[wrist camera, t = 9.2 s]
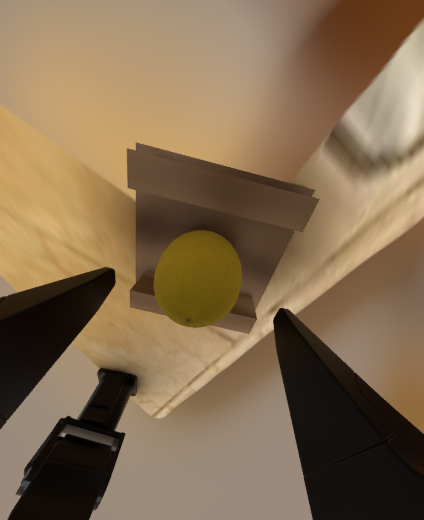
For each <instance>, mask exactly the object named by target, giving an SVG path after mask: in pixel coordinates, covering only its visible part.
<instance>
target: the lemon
mask: <svg viewBox="0 0 424 520" xmlns="http://www.w3.org/2000/svg"><path fill="white" fill-rule="evenodd" d="M241 283H242V269H241V263H240V260H239V257H238V254H237V252H236V250H235V249H234V248H233V246H232V245H231V243H230V242H229V241H227V240H226V239H225V238H224V237H223V236H221V235H219V234H217V233H215V232H211V231H206V230H195V231H191V232H188V233H185V234H183V235H181V236H180V237H178V238H176V239H175V240H173V241H172V242H171V243H170V245H169V246H168V247H167V248H166V249H165V250H164V252H163V253H162V255H161V257H160V260H159V262H158V264H157V267H156V270H155V276H154V292H155V297H156V300H157V302H158V304H159V306H160V308H161V310H162V311H163V312H164V313H165V314H166V315H167V316H168V317H169V318H170V319H172V320H173V321H174V322H176V323H178V324H180V325H183V326H187V327H194V328H197V327H205V326H209V325H212V324H214V323H216V322H218V321H220V320H221V319H223V318H224V317H225V316H226V315H227V314H228V313H229V312H230V311H231V309H232V308H233V306H234V304H235V303H236V301H237V298H238V295H239V291H240V288H241Z"/></svg>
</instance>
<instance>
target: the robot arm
mask: <svg viewBox="0 0 424 520" xmlns="http://www.w3.org/2000/svg"><path fill="white" fill-rule="evenodd" d="M115 282H116V280H115V270H114V269H112V268H108V267H104V268H101V269H97V270H94V271H90V272H87V273H83V274H80V275H77V276H73V277H70V278H66V279H63V280H59V281H56V282H52V283H49V284H46V285H42V286H39V287H35V288H32V289H28V290H25V291H21V292H18V293H15V294H11V295H8V296H7V297H6V296H5V297H1V298H0V429H1V428H2V427H3V425H4V424H5V423H6V420H8V419H9V418H10V417H11V415H12V414H13V413H14V412H15V411H16V409H17V408H18V407H19V406H20V405H21V403H22V402H23V401H24V400H25V398H26V397H27V396H28V395H29V394H30V392H31V391H32V390H33V388H35V386H36V385H37V384H38V382H39V381H40V380H41V379H42V378H43V376H44V375H45V374H46V373H47V372H48V371H49V369H50V368H51V367H52V365H54V363H55V362H56V361H57V360H58V358H59V357H60V356H61V355H62V354H63V352H64V351H65V350H66V349H67V348H68V346H69V345H70V344H71V343H72V341H73V340H74V339H75V338H76V337H77V335H78V334H79V333H80V332H81V331H82V329H83V328H84V327H85V326H86V324H87V323H88V322H89V321H90V320H91V318H92V317H93V316H94V315H95V313H96V312H97V311H98V310H99V308H100V307H101V305H102V304H103V302H104V301H105V299H106V298H107V296H108V295H109V293H110V292H111V290H112V289H113V287H114V285H115ZM273 324H274V333H275V342H276V350H277V355H278V360H279V365H280V369H281V374H282V378H283V383H284V388H285V392H286V397H287V401H288V406H289V411H290V416H291V419H292V425H293V429H294V434H295V439H296V443H297V448H298V452H299V457H300V462H301V466H302V471H303V475H304V481H305V486H306V490H307V495H308V500H309V504H310V509H311V513H312V518H313V520H424V434H423V433H422V432H421V431H420V430H418V429H417V428H416V427H415V426H414V425H413V424H411V423H410V422H409V421H408V420H407V419H406V418H405V417H404V416H402V415H401V414H400V413H399V412H398V411H397V410H395V409H394V408H393V407H392V406H391V405H390V404H389V403H388V402H387V401H385V400H384V399H383V398H382V397H381V396H380V395H379V394H378V393H377V392H375V391H374V390H373V389H372V388H371V387H370V386H369V385H368V384H367V383H366V382H365V381H364V380H362V378H360V377H359V376H358V375H357V374H356V373H354V371H353V370H352V369H351V368H350V367H349V366H348V365H347V364H346V363H345V362H343V361H342V360H341V359H340V358H339V357H338V356H337V355H336V354H335V353H334V352H333V351H332V350H331V349H330V348H329V347H327V345H325V344H324V343H323V342H322V341H321V340H320V339H319V338H318V337H317V336H316V335H315V334H314V333H313V332H312V331H311V330H310V329H308V327H306V326H305V325H304V324H303V323H302V322H301V321H300V320H299V319H298V318H297V317H296V316H295V315H294V314H293V313H292V312H291V311H290V310H288V309H285V308H280V309H279V310H278V312H277V314H276V315H275V317H274V320H273ZM97 374H98V378H99V384H98V386H97V387H96V389H95V391H94V392H93V394H92V396H91V397H90V399H89V400H88V402H87V404H86V405H85V407H84V409H83V410H82V412H81V414H80V415H79V417H78V418H77V420H76V419H73V418H71V417H70V416H67V417H66V418H61V419H60V420H59V421H58V423H57V424H56V426H55V427H54V429H53V430H52V432H51V433H50V435H49V436H48V437H47V439H46V440H45V441H44V443H43V444H42V445H41V447H40V448H39V449H38V451H37V452H36V454H35V455H34V456H33V458H32V459H31V460H30V462H29V463H28V464H27V466H26V467H25V469H24V478H23V480H22V482H21V486H20V487H19V489H18V491H17V493H16V495H20V496H21V495H22V496H21V498H20V499H19V501H18V502H17V504H16V505H15V507H14V509H13V510H12V512H11V514H10V515H9V517H8V519H7V520H89V518H90V516H91V514H92V511H93V510H96V509H97V508H98V506H99V504H100V502H101V500H102V498H103V495H104V493H105V491H106V488H107V486H108V483H109V481H110V478H111V475H112V472H113V469H114V466H115V463H116V460H117V457H118V454H119V451H120V449H121V446H122V442H123V440H124V437H125V433H123V432H122V433H119V432H116V431H115V430H116V427H117V425H118V423H119V420H120V418H121V416H122V413H123V411H124V409H125V407H126V404H127V402H128V400H129V397H130V395H131V396H135V395H136V393H137V377H135V376H132V375H127V374H122V373H117V372H113V371H108V370H103V369H99V371H98V372H97ZM62 433H66V435H65V437H61V435H62Z"/></svg>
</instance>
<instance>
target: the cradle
mask: <svg viewBox="0 0 424 520" xmlns="http://www.w3.org/2000/svg"><path fill="white" fill-rule="evenodd" d="M127 174H128V188H131V189H134V190H136V284H135V285H134V286H133V287H132V289H131V290H130V308H135V309H139V310H144V311H148V312H153V313H157V314H162V315H166V314H165V313H164V312H163V311H162V310H161V308H160V306H159V304H158V302H157V300H156V297H155V292H154V276H155V270H156V267H157V264H158V262H159V260H160V257H161V255H162V253H163V252H164V250H165V249H166V248H167V247H168V246H169V245H170V243H171V242H172V241H173V240H175V239H176V238H178V237H180V236H181V235H183V234H185V233H188V232H191V231H195V230H206V231H211V232H215V233H217V234H219V235H221V236H223V237H224V238H225V239H226V240H227V241H229V242H230V243H231V245H232V246H233V248H234V249H235V250H236V252H237V254H238V257H239V260H240V263H241V269H242V283H241V288H240V291H239V295H238V298H237V301H236V303H235V304H234V306H233V308H232V309H231V311H230V312H229V313H228V314H227V315H226V316H225V317H224V318H223V319H221V320H220V321H218V322H216V323H214V324H212V326H216V327H221V328H225V329H230V330H234V331H239V332H243V333H248V334H249V333H250V331H251V329H252V327H253V325H254V324H255V322H256V320H257V318H256V313H255V309H256V307H257V305H258V303H259V301H260V299H261V297H262V295H263V293H264V291H265V289H266V287H267V285H268V283H269V281H270V279H271V277H272V275H273V273H274V271H275V269H276V267H277V265H278V263H279V261H280V259H281V257H282V255H283V253H284V251H285V249H286V247H287V245H288V243H289V241H290V239H291V237H292V235H293V233H294V231H295V230H296V231H300V232H303V230H304V228H305V226H306V224H307V222H308V220H309V219H310V217H311V215H312V213H313V211H314V209H315V207H316V205H317V203H318V201H319V199H317V198H314V197H312V195H313V193H314V191H315V190H313V189H309V188H305V187H302V186H298V185H294V184H290V183H287V182H283V181H279V180H275V179H272V178H267V177H264V176H260V175H256V174H252V173H249V172H245V171H241V170H238V169H234V168H230V167H226V166H223V165H219V164H215V163H211V162H207V161H204V160H200V159H196V158H192V157H189V156H185V155H181V154H177V153H174V152H170V151H166V150H162V149H159V148H154V147H151V146H147V145H143V144H140V143H136V151H135V150H131V149H127ZM166 316H167V315H166Z"/></svg>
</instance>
